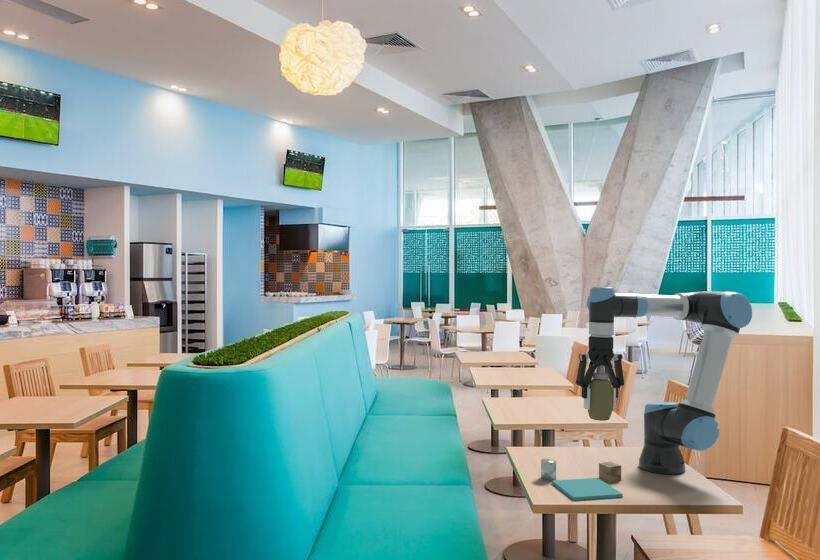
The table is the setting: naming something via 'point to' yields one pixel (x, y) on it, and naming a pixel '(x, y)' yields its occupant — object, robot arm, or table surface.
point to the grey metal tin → (548, 469)
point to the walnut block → (610, 471)
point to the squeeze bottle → (600, 396)
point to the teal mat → (586, 489)
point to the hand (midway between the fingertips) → (599, 408)
